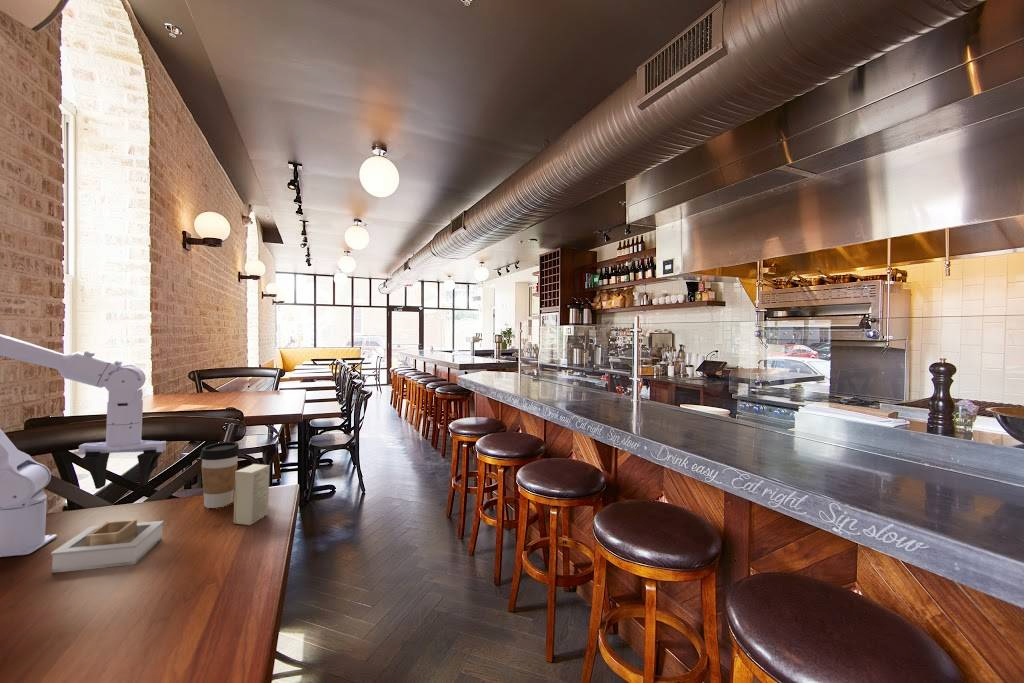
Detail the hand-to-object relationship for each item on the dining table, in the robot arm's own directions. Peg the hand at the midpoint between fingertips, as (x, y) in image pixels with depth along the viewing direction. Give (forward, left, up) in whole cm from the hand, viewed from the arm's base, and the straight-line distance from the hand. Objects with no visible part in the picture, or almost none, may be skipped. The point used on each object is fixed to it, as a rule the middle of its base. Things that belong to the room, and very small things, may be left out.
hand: (122, 486), depth 93 cm
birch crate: (+3, -10, -9) cm, 14 cm away
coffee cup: (+14, +13, -10) cm, 22 cm away
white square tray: (+3, -11, -10) cm, 15 cm away
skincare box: (+24, +1, -10) cm, 26 cm away
